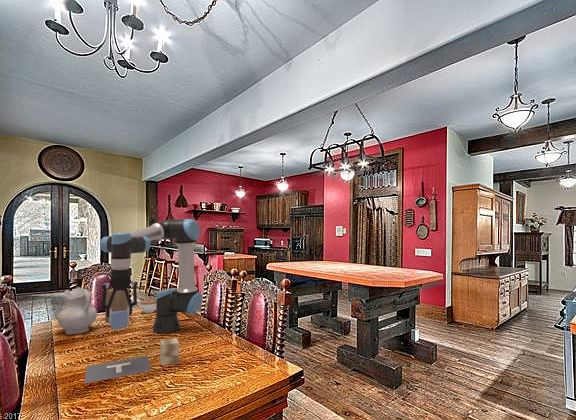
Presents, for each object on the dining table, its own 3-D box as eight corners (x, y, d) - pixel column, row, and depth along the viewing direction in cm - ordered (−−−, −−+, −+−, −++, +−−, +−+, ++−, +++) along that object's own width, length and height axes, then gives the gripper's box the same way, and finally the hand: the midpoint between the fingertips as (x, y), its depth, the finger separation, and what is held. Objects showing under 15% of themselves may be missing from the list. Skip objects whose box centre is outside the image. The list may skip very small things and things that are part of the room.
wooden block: (118, 323, 207) (119, 290, 208) (104, 322, 209) (105, 290, 210) (129, 318, 217) (130, 288, 218) (115, 318, 219) (116, 287, 220)
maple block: (176, 358, 152) (176, 338, 153) (178, 363, 146) (179, 342, 146) (159, 360, 149) (160, 340, 149) (162, 366, 143) (162, 345, 143)
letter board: (147, 356, 153) (147, 355, 153) (151, 371, 138) (151, 370, 138) (86, 367, 142) (86, 366, 142) (83, 384, 126) (84, 383, 126)
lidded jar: (143, 310, 239) (143, 297, 239) (158, 310, 240) (159, 297, 240) (138, 314, 228) (138, 300, 229) (154, 314, 229) (154, 300, 230)
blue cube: (126, 324, 145) (127, 310, 145) (127, 327, 139) (127, 313, 140) (111, 326, 142) (111, 311, 142) (110, 329, 137) (111, 315, 137)
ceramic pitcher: (106, 330, 195) (110, 287, 199) (75, 338, 177) (80, 291, 180) (79, 327, 202) (83, 285, 206) (47, 334, 184) (52, 288, 187)
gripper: (144, 266, 150) (142, 318, 149) (95, 268, 141) (93, 324, 140) (145, 268, 143) (144, 322, 142) (94, 270, 134) (92, 329, 133)
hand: (119, 323), depth 141 cm, fingers closed on blue cube, 6 cm apart
